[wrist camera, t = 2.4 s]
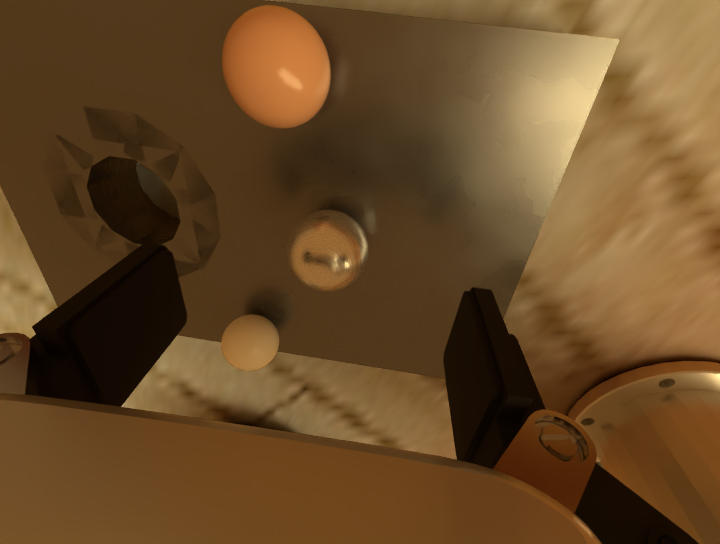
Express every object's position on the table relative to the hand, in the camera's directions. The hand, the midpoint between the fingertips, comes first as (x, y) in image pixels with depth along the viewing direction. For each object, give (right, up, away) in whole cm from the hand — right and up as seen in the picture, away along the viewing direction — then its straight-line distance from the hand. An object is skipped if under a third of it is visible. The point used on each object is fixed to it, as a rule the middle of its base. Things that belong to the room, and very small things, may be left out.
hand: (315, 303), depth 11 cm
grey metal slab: (-3, +5, +8) cm, 10 cm away
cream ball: (-4, -3, +8) cm, 9 cm away
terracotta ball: (-1, +8, 0) cm, 8 cm away
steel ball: (0, +2, +4) cm, 4 cm away
